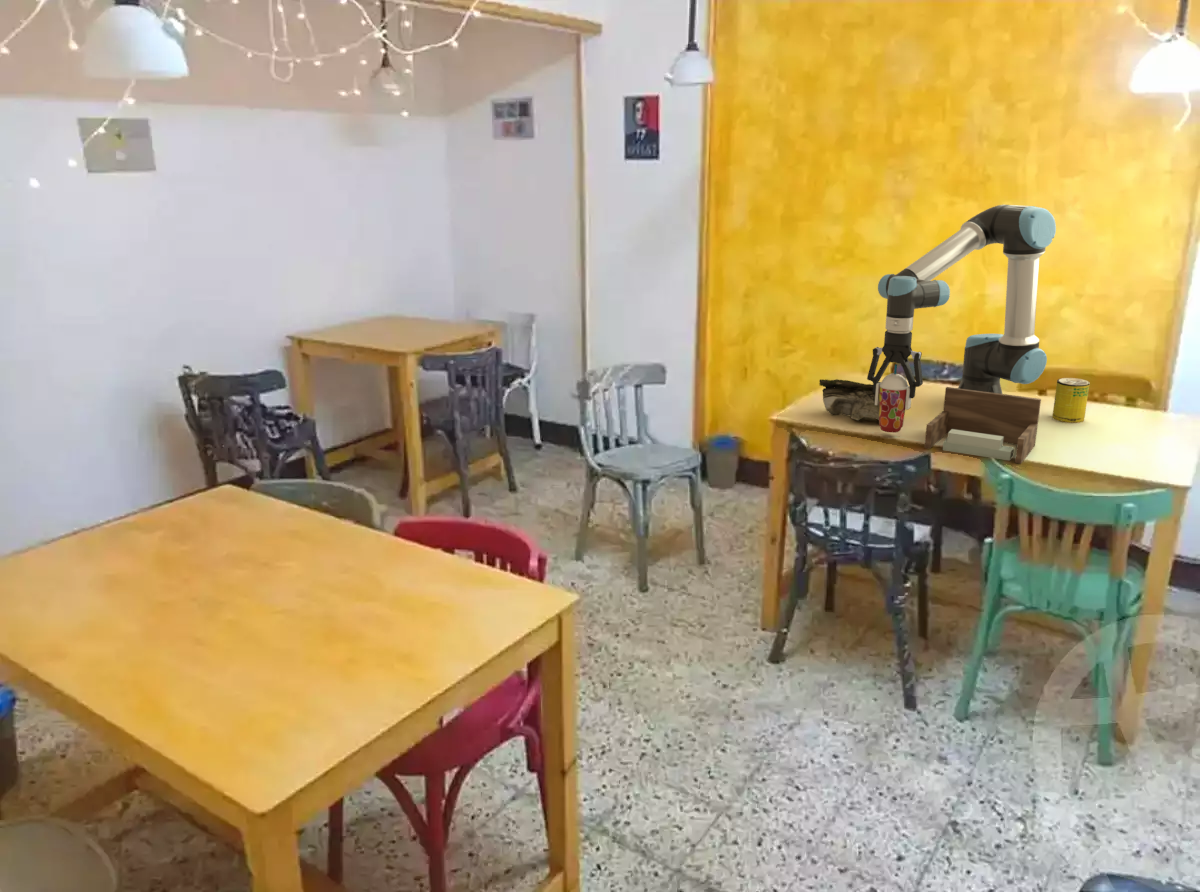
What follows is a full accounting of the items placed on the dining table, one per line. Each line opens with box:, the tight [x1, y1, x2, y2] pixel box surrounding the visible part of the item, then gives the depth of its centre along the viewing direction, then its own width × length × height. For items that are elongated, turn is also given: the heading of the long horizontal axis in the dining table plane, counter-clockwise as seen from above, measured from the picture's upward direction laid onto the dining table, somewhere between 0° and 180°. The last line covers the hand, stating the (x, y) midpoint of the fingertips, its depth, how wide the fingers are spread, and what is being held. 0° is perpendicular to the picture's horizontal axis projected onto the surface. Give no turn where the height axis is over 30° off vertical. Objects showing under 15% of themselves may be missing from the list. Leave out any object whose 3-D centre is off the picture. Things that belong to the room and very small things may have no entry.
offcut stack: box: [942, 429, 1015, 461], centre depth 263 cm, size 4×18×6 cm, turn 56°
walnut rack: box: [924, 386, 1042, 465], centre depth 266 cm, size 18×26×14 cm
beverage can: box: [1051, 377, 1090, 424], centre depth 290 cm, size 9×9×12 cm
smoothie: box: [878, 363, 909, 433], centre depth 276 cm, size 8×8×20 cm
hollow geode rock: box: [818, 378, 879, 421], centre depth 295 cm, size 28×13×15 cm
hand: (892, 406), depth 277 cm, fingers closed on smoothie, 8 cm apart
